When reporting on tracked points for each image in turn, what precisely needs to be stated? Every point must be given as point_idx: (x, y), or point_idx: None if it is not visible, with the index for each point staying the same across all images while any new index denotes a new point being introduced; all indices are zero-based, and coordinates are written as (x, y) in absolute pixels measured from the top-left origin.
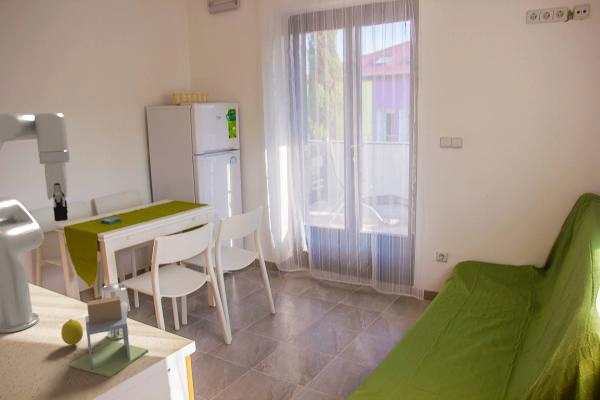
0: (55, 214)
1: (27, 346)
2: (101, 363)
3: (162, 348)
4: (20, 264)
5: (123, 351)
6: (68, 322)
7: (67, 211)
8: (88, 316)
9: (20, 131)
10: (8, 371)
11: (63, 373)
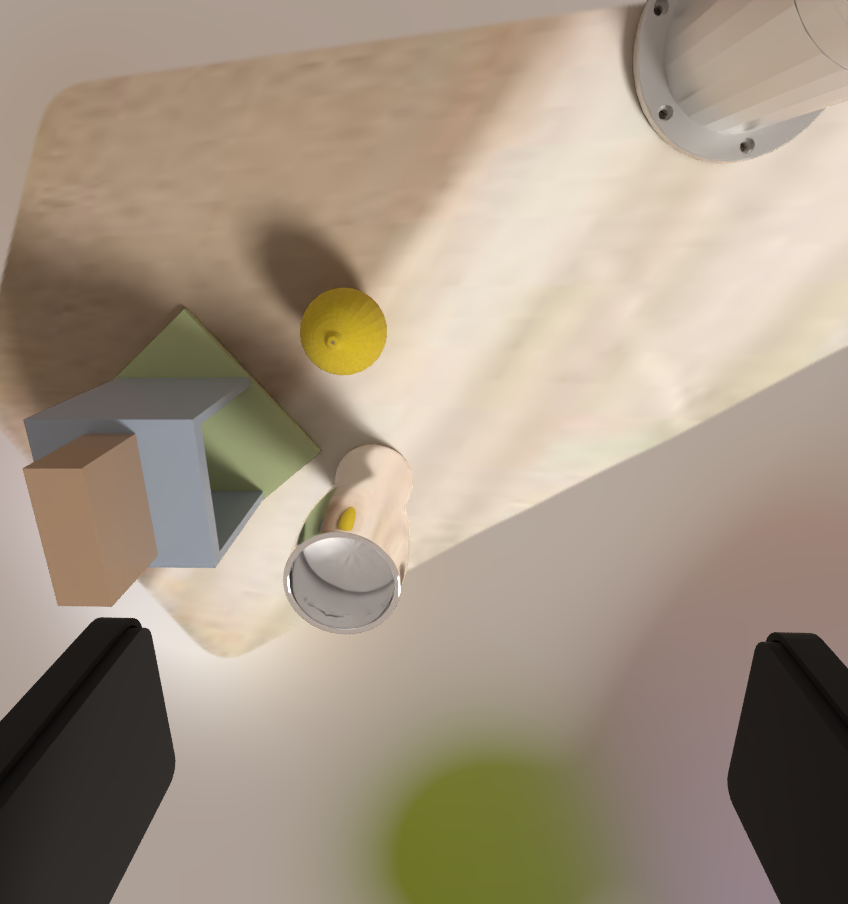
0: (27, 722)
1: (434, 132)
2: None
3: (206, 590)
4: None
5: (212, 484)
6: (323, 330)
7: (749, 820)
8: (191, 433)
9: None
10: (226, 74)
11: (139, 286)
